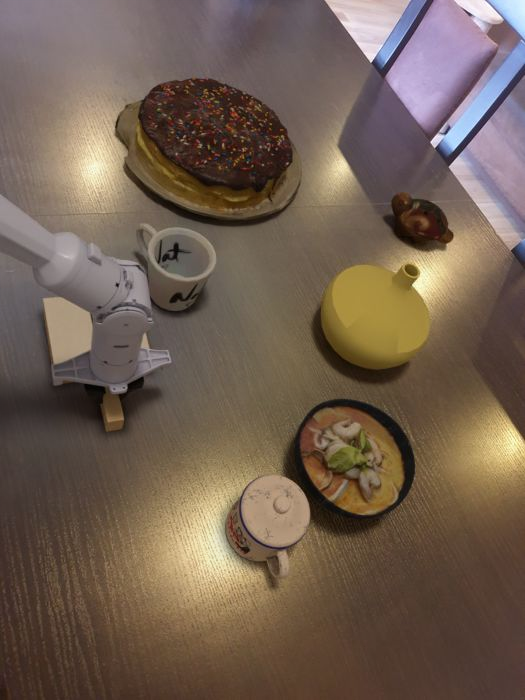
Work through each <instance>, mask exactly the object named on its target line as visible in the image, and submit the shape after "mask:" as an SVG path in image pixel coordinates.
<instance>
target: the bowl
mask: <svg viewBox="0 0 525 700" xmlns="http://www.w3.org/2000/svg"><path fill="white" fill-rule="evenodd" d="M293 460H294V466H295V469H296V473H297V477H298V479H299V480H300V482H301V484H302V486H303V488H304V490H305V491H306V492H307V494H308V495H309V496H310V497H311V498H312V500H314V502H315V503H317V505H319V506H320V507H322V508H323V509H325V510H326V511H327V512H328V513H331V514H334V515H335V516H338V517H342V518H343V519H349V520H357V521H366V520H374V519H377V518H380V517H382V516H385V515H386V514H389V513H390V512H392V511H394V510H395V509H396V508H398V507H399V506H400V505H401V504H402V502H404V500H405V499H406V497H407V496H408V494H409V493H410V491H411V488H412V486H413V483H414V479H415V474H416V459H415V453H414V449H413V447H412V444H411V442H410V440H409V438H408V435H407V434H406V433H405V430H404V429H403V428H402V427H401V426H400V424H399V423H398V422H397V421H396V420H395V419H394V418H392V416H390V415H389V414H388V413H386V412H385V411H383V410H382V409H380V408H378V407H376V406H375V405H372V404H369V403H367V402H365V401H360V400H358V399H351V398H334V399H328V400H325V401H323V402H321V403H319V404H317V405H315V406H314V407H312V408H311V409H310V410H309V412H308V413H307V414H306V415H305V417H304V418H303V420H302V421H301V423H300V425H299V426H298V429H297V432H296V435H295V438H294V445H293Z"/></svg>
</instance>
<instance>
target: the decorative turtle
mask: <svg viewBox="0 0 525 700" xmlns="http://www.w3.org/2000/svg"><path fill="white" fill-rule="evenodd" d="M390 203H391V210H392V213H393V215H394V217H395V219H396V227H395V233H396V236H397V237H407V236H408V237H409V236H410V237H411V238H412V240H413V242H414V245H415V246H421V245H423V244H426V243H428V242H429V243H430V242H435V241H437V242H438V243H441V244H444V245H447V244H450V243H451V242H452V241H453V240H454V236H455V235H454V232H453V231H452V229H450V228H449V221H448V218H447V216H446V214H445V212H444V211H443V210H442V208H441V207H439V206H438V205H437V204H436V203H434V202H432V201H430V200H428V199H425V198H412V195H410V194H409V193H407V192H398V193H396V194H395V195H394V196H393V197H392V199H391V201H390Z"/></svg>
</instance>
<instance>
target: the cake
mask: <svg viewBox="0 0 525 700" xmlns="http://www.w3.org/2000/svg"><path fill="white" fill-rule="evenodd" d="M114 128H115V130H116V131H117V133H118V134H119V135H120V137H121V138H122V140H123V141H124V143H125V145H126V146H127V148H128V149H127V150H128V152H127V156H124V157H123V162H124V164H125V166H126V167H127V169H128V170H130V172H132V173H133V174H134V175H135V176H136V178H137V179H139V181H140V182H141V183H142V184H143V185H144V186H145V187H146V188H147V189H148V190H150V191H151V192H152V193H154V194H155V195H157V196H158V197H160V198H161V199H164V200H165V201H168V202H170V203H171V204H173V205H175V206H176V207H178V208H179V209H181V210H183V211H187V212H190V213H192V214H196V215H200V216H203V217H207V218H212V219H217V220H221V221H241V220H243V221H246V220H257V219H261V218H264V217H267V216H269V215H271V214H274V213H277V212H280V211H281V210H282V209H284V207H285V206H287V205H288V204H289V203H290V202H291V201H292V199H293V198H294V197H295V196H296V194H297V192H298V191H299V188H300V186H301V183H302V176H303V173H302V164H301V160H300V156H299V153H298V151H297V149H296V146H295V144H294V143H293V142H292V140H291V139H290V138H289V134H288V129H287V128H286V126H285V125H283V123H282V122H281V120H280V117H279V116H278V115H277V114H276V111H274V109H271V108H270V107H269V106H268V105H267V104H266V103H264V102H262V100H260V99H258V98H256V97H254V96H253V95H252V94H249V93H248V92H247V93H246V92H245V91H243V90H240V89H238V88H236V87H233V86H231V85H229V84H227V83H222V82H220V81H218V79H213V78H207V77H206V78H196V77H190V78H187V79H183V80H180V79H173V80H170V81H166V82H161V83H158V84H157V85H155V86H154V87H152V88H151V89H150V90H149V92H148V93H147V94H146V95H145V96H144V98H143V99H141V100H138V101H135V102H131V103H128V104H125V105H124V109H123V110H121V111H120V112H119V113H118V115H117V118H116V121H115V124H114Z"/></svg>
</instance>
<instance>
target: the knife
mask: <svg viewBox="0 0 525 700" xmlns="http://www.w3.org/2000/svg"><path fill="white" fill-rule="evenodd" d="M90 316H91V321H92V325H93V319H94V316H95V315H93V314H91V313H90ZM105 390H106V394H104V396H103V403H102V404H99V405H100V409H101V414H102V418H103V424H104V428H105V432H106V433H107V432H113V431H118V430H122V429H123V426H124V421H125V416H124V411H123V407H122V403H121V402H122V401H120V398H119V394H111V392H110V389H109V388H108V387H105Z"/></svg>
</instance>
